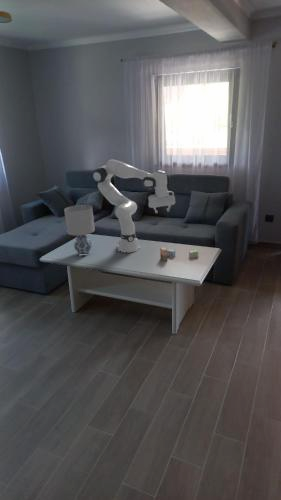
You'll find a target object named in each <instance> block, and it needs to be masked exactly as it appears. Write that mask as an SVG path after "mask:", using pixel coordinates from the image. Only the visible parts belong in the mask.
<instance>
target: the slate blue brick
mask: <svg viewBox="0 0 281 500" xmlns="http://www.w3.org/2000/svg"><path fill="white" fill-rule="evenodd" d="M167 257H170V258H174V257H176V250H174V249H167Z"/></svg>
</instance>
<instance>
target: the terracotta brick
mask: <svg viewBox="0 0 281 500" xmlns="http://www.w3.org/2000/svg"><path fill="white" fill-rule="evenodd" d="M167 250H168V249H167V248H166V247H164V246H163V247H159V255H160V254H162V255H163V256H166V255H167Z"/></svg>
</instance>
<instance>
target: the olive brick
mask: <svg viewBox="0 0 281 500" xmlns="http://www.w3.org/2000/svg"><path fill="white" fill-rule="evenodd" d="M188 257H189V258H190V259H193V258H194V257H195V258H198V257H199V251H198V250H197V249H195V250H190V251H188Z"/></svg>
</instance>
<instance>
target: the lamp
mask: <svg viewBox="0 0 281 500" xmlns="http://www.w3.org/2000/svg"><path fill="white" fill-rule="evenodd" d="M63 211H64V218H65V224H66V225H65V226H66V232H67V233H66V234H67V235H70V236H76V238H75V241H74V243H73V247H74V250H75V251H76V252H77V255H78V254H88V253H89V252H90V251H91V249H92V247H93V246H92V241H91V240H90V239H89V237H88V236H87V235H89V234H92V233H94V232H95V220H94V211H93V206H92V205H89V204H77V205H71V206H66V207H65V208H64V210H63ZM90 253H91V252H90Z"/></svg>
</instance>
